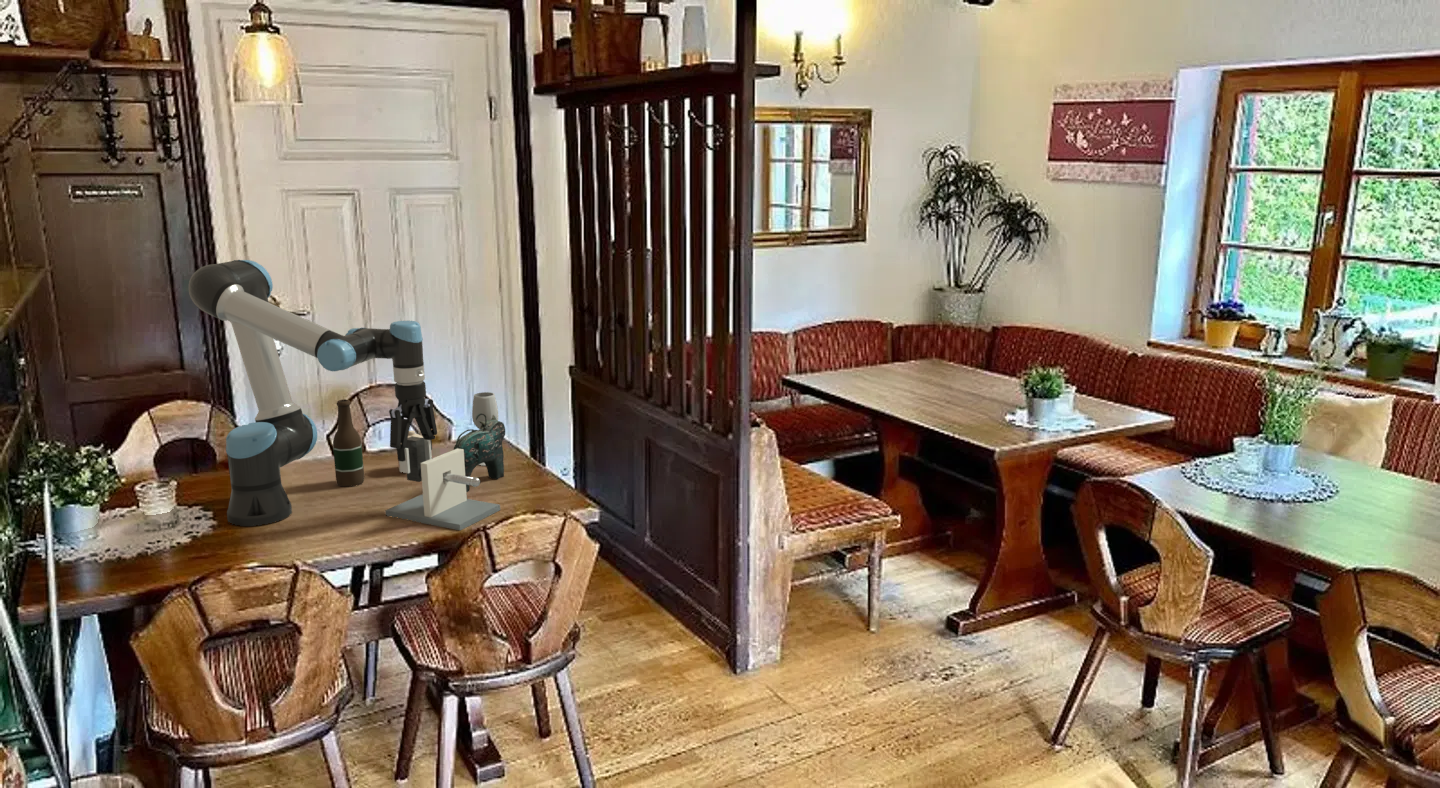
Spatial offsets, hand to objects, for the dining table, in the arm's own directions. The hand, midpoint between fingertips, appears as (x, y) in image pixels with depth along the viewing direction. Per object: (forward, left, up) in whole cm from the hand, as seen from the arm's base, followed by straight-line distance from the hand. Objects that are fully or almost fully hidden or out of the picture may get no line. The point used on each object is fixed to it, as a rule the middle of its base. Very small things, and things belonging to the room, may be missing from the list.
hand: (416, 467), depth 262 cm
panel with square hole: (0, -9, -11) cm, 14 cm away
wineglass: (+40, +9, -11) cm, 43 cm away
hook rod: (0, -9, -3) cm, 10 cm away
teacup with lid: (+25, +23, -11) cm, 36 cm away
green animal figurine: (+23, -2, -11) cm, 26 cm away
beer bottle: (+8, +32, -11) cm, 35 cm away
